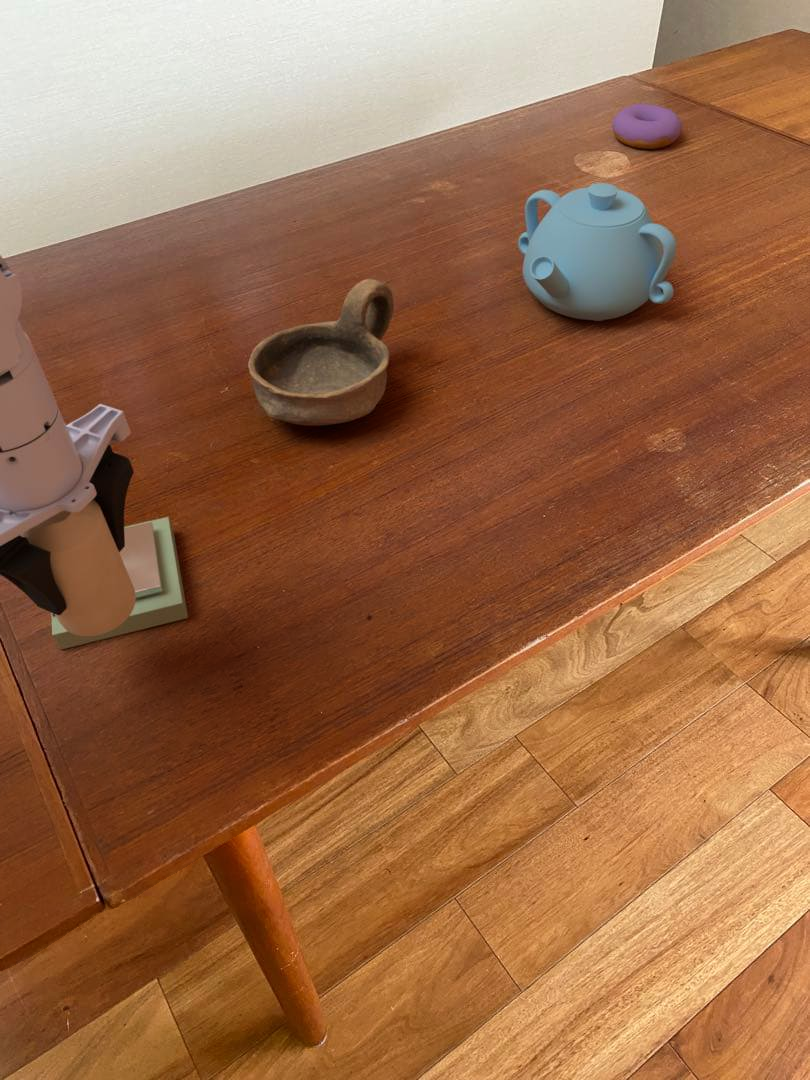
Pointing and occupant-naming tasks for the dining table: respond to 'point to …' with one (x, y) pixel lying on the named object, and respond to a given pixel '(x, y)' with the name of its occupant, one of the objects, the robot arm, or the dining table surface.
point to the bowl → (327, 363)
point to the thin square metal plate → (142, 559)
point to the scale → (147, 607)
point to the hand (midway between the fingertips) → (81, 575)
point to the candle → (86, 570)
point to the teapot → (595, 253)
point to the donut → (646, 126)
